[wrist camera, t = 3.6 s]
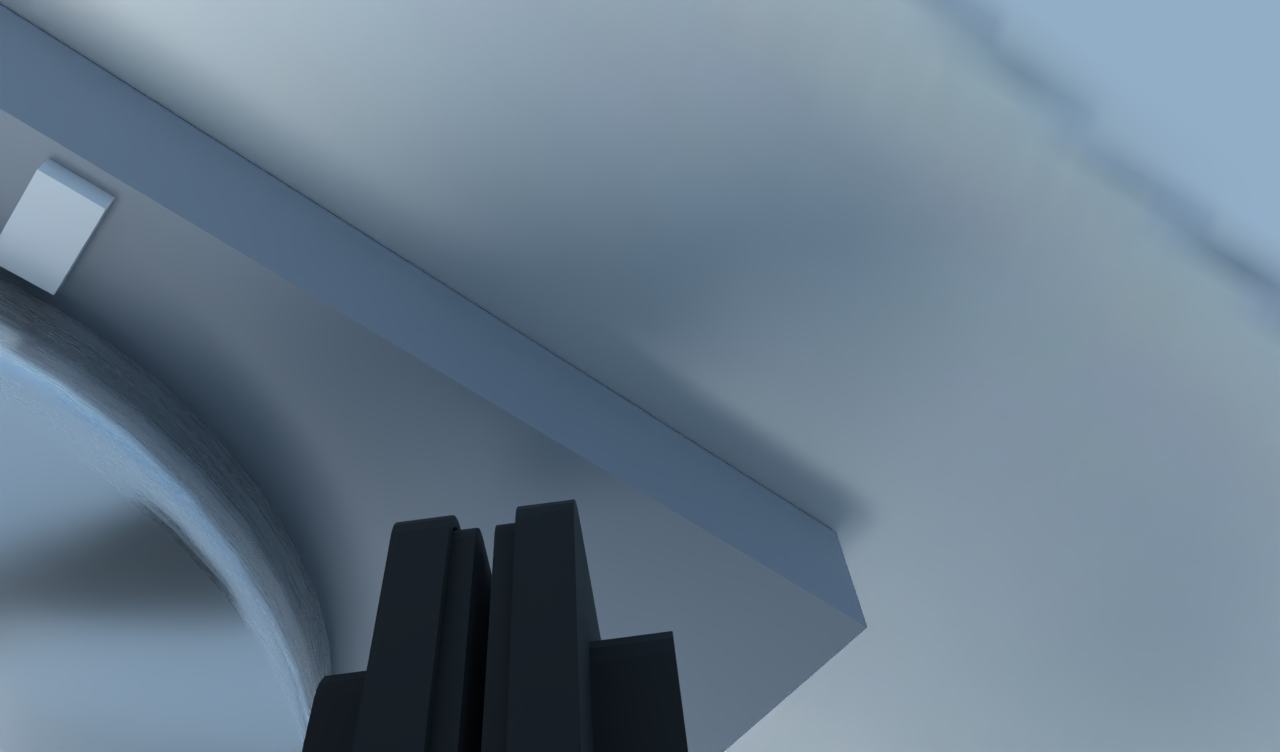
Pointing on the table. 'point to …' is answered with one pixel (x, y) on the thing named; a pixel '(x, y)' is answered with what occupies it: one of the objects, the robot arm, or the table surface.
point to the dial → (137, 563)
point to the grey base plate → (392, 393)
